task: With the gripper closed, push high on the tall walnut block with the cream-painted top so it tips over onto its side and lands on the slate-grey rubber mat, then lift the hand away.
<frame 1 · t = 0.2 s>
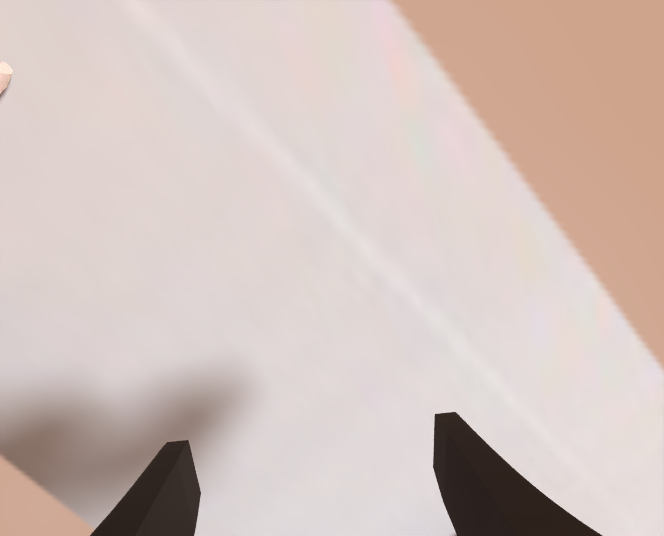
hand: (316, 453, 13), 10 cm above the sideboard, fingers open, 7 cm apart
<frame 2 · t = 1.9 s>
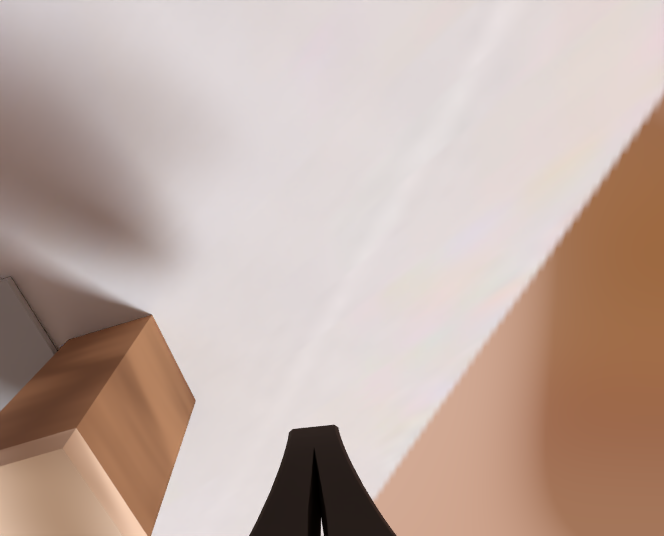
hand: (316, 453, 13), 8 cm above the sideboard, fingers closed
walnut block: (134, 371, 20), on the sideboard
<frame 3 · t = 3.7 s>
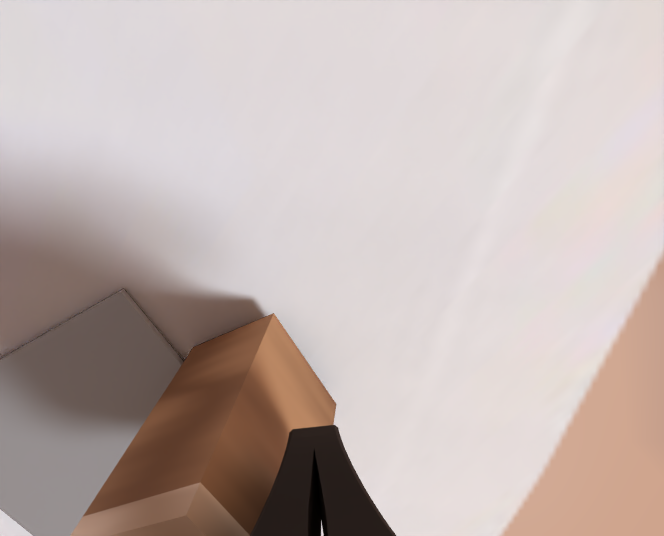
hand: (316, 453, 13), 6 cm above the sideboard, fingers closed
walnut block: (265, 376, 18), on the sideboard, tilted 13°
slate rubber mat: (107, 453, 19), on the sideboard
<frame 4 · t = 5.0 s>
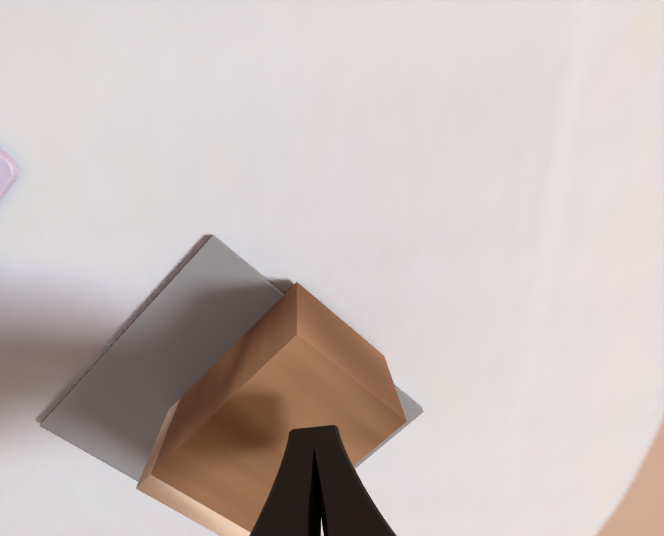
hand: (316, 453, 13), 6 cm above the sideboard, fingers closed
walnut block: (347, 346, 15), point 2 cm above the sideboard, tilted 90°, touching slate rubber mat
slate rubber mat: (239, 413, 19), on the sideboard
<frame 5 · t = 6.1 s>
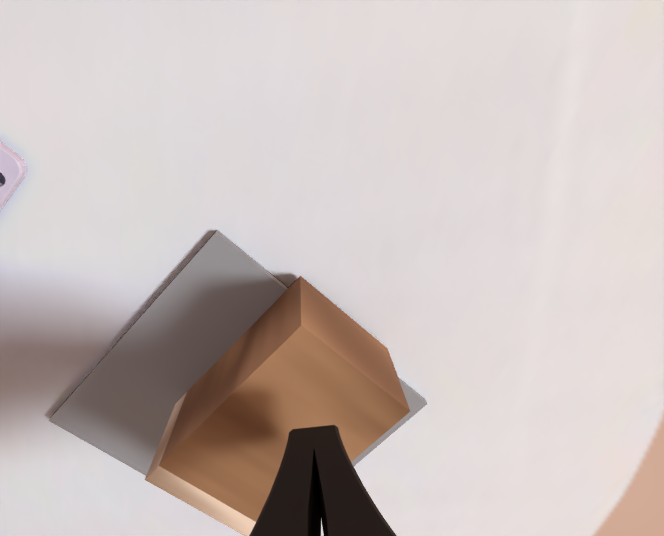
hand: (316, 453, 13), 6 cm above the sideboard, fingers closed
walnut block: (351, 338, 16), point 2 cm above the sideboard, tilted 90°, touching slate rubber mat
slate rubber mat: (244, 407, 19), on the sideboard
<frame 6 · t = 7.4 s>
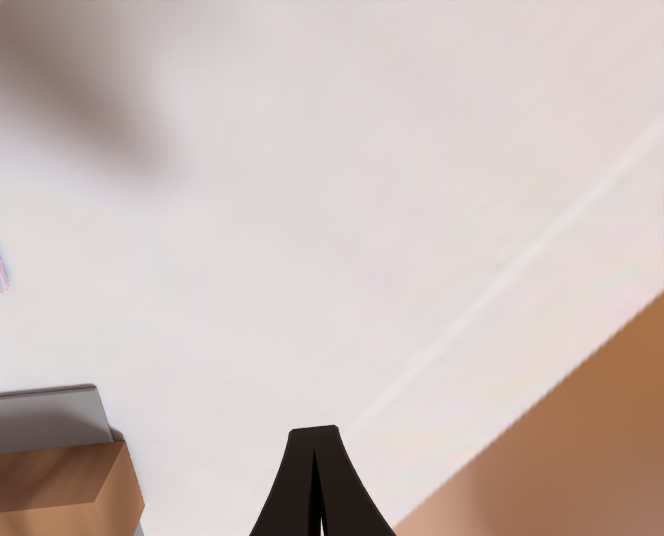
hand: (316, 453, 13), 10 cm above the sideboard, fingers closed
walnut block: (122, 503, 23), point 2 cm above the sideboard, tilted 90°, touching slate rubber mat
slate rubber mat: (24, 482, 25), on the sideboard
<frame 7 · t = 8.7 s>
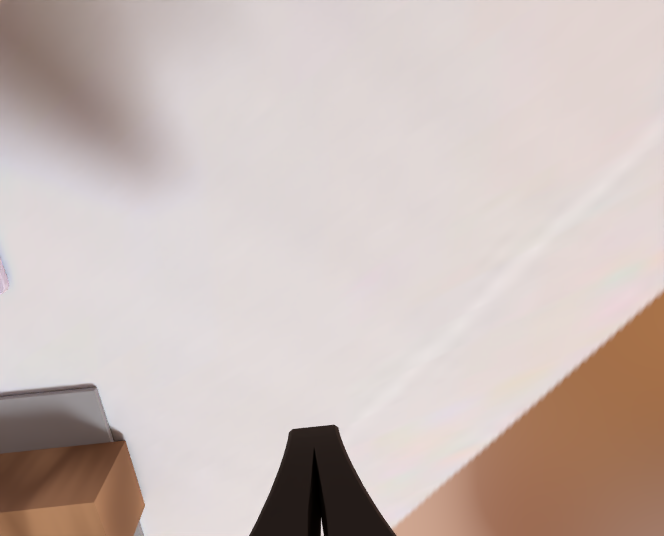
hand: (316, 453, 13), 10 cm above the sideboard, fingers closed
walnut block: (122, 503, 23), point 2 cm above the sideboard, tilted 90°, touching slate rubber mat
slate rubber mat: (24, 482, 25), on the sideboard
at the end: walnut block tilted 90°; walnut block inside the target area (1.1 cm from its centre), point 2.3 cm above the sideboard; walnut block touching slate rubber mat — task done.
